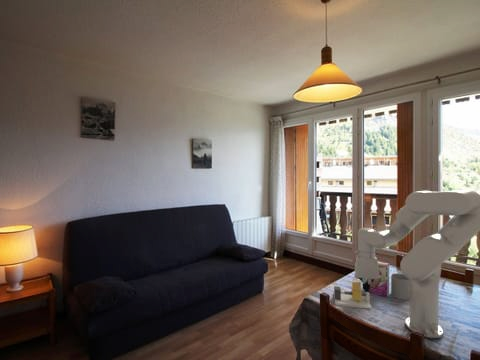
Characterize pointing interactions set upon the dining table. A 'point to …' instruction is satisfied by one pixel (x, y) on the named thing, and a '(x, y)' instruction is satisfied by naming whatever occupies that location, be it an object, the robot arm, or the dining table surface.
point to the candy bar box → (381, 281)
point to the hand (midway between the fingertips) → (366, 290)
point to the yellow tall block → (356, 290)
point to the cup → (400, 287)
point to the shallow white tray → (346, 299)
